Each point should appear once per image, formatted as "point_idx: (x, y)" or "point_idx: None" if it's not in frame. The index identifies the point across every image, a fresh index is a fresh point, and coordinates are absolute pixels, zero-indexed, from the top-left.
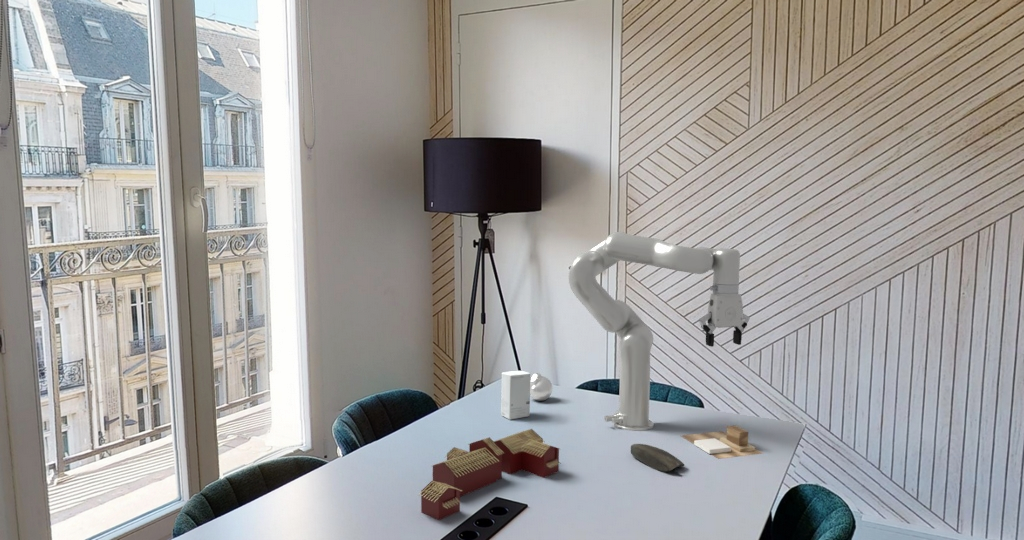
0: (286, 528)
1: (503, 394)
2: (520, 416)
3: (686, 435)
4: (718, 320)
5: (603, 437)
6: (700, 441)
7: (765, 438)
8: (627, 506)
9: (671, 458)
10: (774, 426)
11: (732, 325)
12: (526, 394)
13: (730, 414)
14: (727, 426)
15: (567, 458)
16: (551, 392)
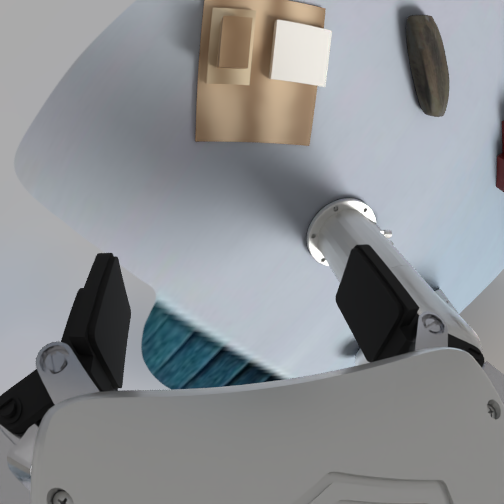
0: None
1: None
2: None
3: (295, 141)
4: (484, 408)
5: (413, 198)
6: (317, 75)
7: (119, 83)
8: (492, 9)
9: (431, 31)
10: (54, 157)
11: (248, 403)
12: None
13: (106, 247)
14: (247, 67)
15: (481, 148)
16: (362, 353)
